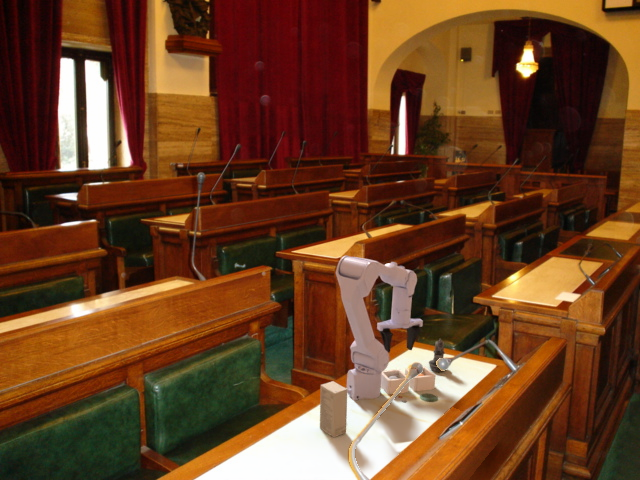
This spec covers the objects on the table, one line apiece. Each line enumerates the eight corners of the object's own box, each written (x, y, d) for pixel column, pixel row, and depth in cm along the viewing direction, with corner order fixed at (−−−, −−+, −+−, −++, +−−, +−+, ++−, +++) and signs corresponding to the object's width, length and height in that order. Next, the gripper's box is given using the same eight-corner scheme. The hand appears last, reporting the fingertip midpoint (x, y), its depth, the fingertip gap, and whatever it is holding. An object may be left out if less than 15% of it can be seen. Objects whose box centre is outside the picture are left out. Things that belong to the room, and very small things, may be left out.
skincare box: (346, 433, 161) (349, 389, 158) (332, 438, 158) (335, 393, 156) (331, 422, 166) (333, 380, 163) (318, 427, 163) (320, 384, 160)
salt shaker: (445, 370, 201) (448, 335, 199) (447, 378, 196) (450, 342, 193) (427, 369, 202) (430, 334, 199) (428, 377, 196) (431, 341, 194)
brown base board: (395, 411, 173) (396, 406, 173) (376, 389, 186) (376, 385, 186) (446, 404, 178) (447, 400, 178) (424, 384, 191) (425, 379, 191)
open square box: (387, 395, 180) (388, 380, 179) (378, 385, 186) (379, 371, 185) (408, 392, 182) (409, 378, 181) (398, 383, 188) (399, 369, 187)
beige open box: (414, 392, 183) (415, 377, 182) (404, 382, 189) (405, 368, 188) (434, 389, 185) (435, 375, 184) (424, 380, 191) (425, 366, 190)
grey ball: (389, 392, 182) (390, 380, 181) (384, 386, 185) (385, 374, 184) (402, 391, 183) (403, 378, 182) (396, 385, 187) (397, 372, 186)
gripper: (385, 314, 181) (382, 357, 184) (429, 310, 187) (425, 352, 190) (375, 306, 188) (372, 349, 191) (417, 302, 193) (414, 344, 196)
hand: (398, 350), depth 191 cm, fingers open, 7 cm apart
